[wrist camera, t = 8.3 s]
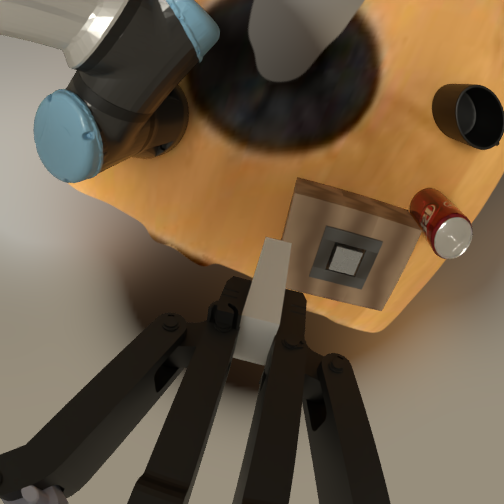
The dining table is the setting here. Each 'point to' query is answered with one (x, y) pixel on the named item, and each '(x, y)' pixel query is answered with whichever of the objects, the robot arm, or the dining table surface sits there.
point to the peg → (344, 258)
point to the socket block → (349, 233)
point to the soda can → (441, 223)
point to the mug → (469, 114)
